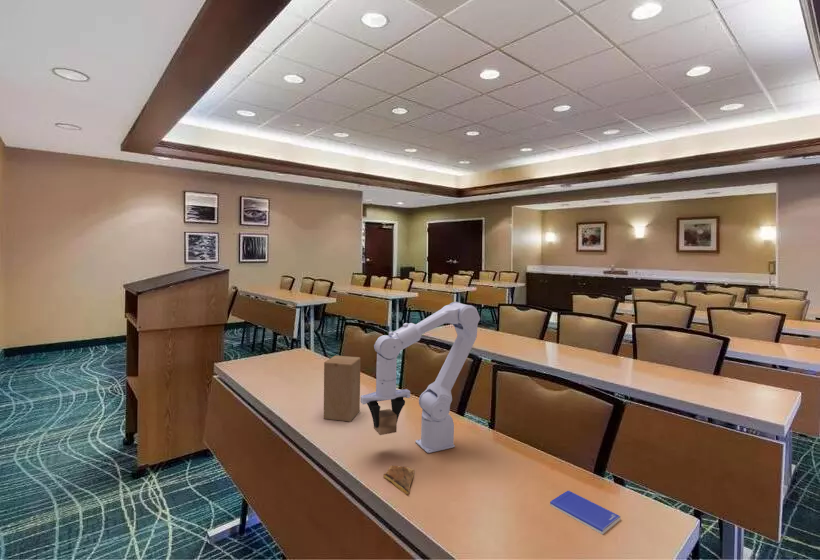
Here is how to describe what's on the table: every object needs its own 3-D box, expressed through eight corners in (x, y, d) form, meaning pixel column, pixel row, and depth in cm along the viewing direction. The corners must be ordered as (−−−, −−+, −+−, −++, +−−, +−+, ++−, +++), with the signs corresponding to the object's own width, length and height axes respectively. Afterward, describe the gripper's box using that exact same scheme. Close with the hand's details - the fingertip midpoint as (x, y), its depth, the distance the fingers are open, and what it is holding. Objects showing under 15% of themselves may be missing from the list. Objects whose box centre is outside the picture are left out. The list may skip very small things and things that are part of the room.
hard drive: (620, 515, 91) (568, 489, 100) (602, 529, 86) (549, 501, 95) (620, 522, 91) (568, 495, 100) (602, 537, 86) (549, 507, 95)
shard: (408, 497, 98) (408, 490, 97) (377, 494, 99) (377, 486, 99) (415, 474, 108) (415, 467, 108) (387, 470, 110) (387, 464, 109)
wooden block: (350, 422, 139) (351, 364, 138) (322, 419, 141) (323, 361, 140) (360, 411, 149) (361, 357, 148) (334, 408, 151) (334, 355, 150)
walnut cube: (389, 425, 121) (389, 408, 121) (396, 432, 117) (396, 415, 116) (373, 428, 119) (374, 411, 119) (380, 435, 114) (380, 417, 114)
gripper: (403, 371, 123) (402, 415, 124) (357, 377, 117) (356, 423, 118) (413, 378, 117) (412, 424, 118) (365, 384, 111) (364, 433, 112)
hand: (385, 424), depth 118 cm, fingers closed on walnut cube, 5 cm apart
